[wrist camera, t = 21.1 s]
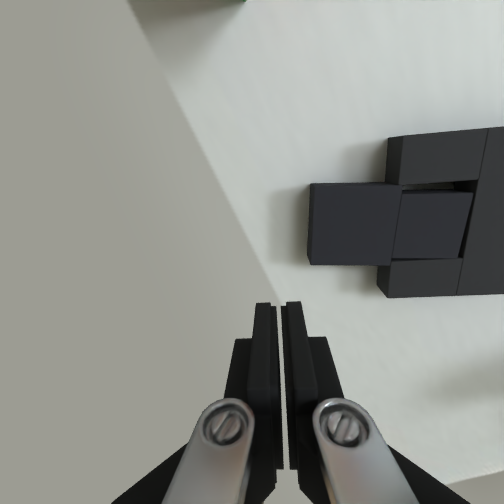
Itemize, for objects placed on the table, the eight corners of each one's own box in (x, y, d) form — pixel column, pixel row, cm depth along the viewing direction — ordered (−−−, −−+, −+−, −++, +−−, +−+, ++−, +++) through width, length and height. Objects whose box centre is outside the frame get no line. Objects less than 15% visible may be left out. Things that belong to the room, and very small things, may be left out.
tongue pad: (306, 254, 27) (310, 265, 24) (310, 183, 25) (314, 186, 22) (437, 255, 26) (455, 266, 23) (453, 180, 24) (476, 184, 21)
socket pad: (376, 284, 28) (387, 298, 25) (388, 137, 23) (402, 135, 20) (502, 279, 26) (527, 293, 24) (541, 123, 22) (579, 119, 19)
